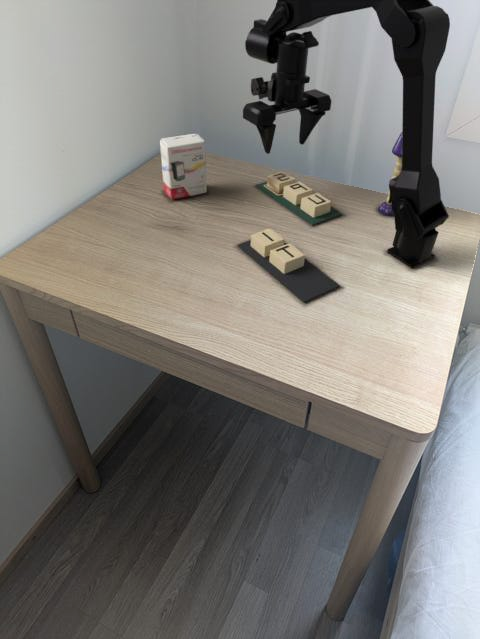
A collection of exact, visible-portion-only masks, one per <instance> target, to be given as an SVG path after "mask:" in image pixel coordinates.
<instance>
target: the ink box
mask: <svg viewBox="0 0 480 639" xmlns="http://www.w3.org/2000/svg"><path fill="white" fill-rule="evenodd" d="M159 146H160V147H159V148H160V159H161V160H160V161H161V172H162V173H161V174H162V185H163V192H164V194H165V195H166V196H167V197H168V198H170V200H177V199H183V198H188V197H192V196H196V195H197V196H198V195H201V194H206V193H207V192H208V191H207V163H206V141H205V140H204V138H203V137H202V136H201V135H199V134H198V133H189V134H182V135H177V136H168V137H161V139H160V140H159Z"/></svg>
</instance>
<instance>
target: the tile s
mask: <svg viewBox="0 0 480 639" xmlns="http://www.w3.org/2000/svg"><path fill="white" fill-rule="evenodd" d="M266 182H267V186H268V187H269V188H270V189H272V190H273V191H275V192H276V193H278V194H280V193H283V191H284V186H287V185H291V184H294V183H296V178H295V177H294V176H292V175H290V174H288V173H287V172H285V171H279V172H276V173H272V174H269V175H267V177H266Z"/></svg>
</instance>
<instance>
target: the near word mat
mask: <svg viewBox="0 0 480 639" xmlns="http://www.w3.org/2000/svg"><path fill="white" fill-rule="evenodd" d="M237 247H238V248H239V249H240V250H241V251H243V252H244V253H245V254H246V255H247V256H249V257H250V258H251V259H252V260H253V261H254V262H255V263H257V264H258V265H259V266H260V267H261V268H262V269H264V270H265V271H266V272H267V273H268V274H270V276H272V277H273V278H274V279H275V280H276V281H278V282H279V283H280V284H281V286H283V287H284V288H286V289H287V290H288V291H289V292H290V293H291V294H293V295H294V297H296V298H297V299H298V300H299V301H301V302H302V303H303V304H307V303H308V302H310V301H312V300H314V299H315V300H316V299H317V298H319V297H321V296H323V295H325V294H328V293H330V292H333V291H335V290H337V289H339V288H340V287H341V285H340V284H339V283H338V282H336V281H335V280H333V279H332V278H331V277H329V276H328V275H327V274H326V273H324V271H322V270H321V269H319V268H318V267H317V266H315V265H314V264H313V263H312V262H310V261H309V260H308V259H306V254H305V253H304V252H302V251H301V250H299V249H298V248H297V247H296V246H294V245H293V244H292V243H286V242H285V238H284V237H282V236H281V235H280V234H279V233H277V232H276V231H275V230H273V228H267V229H264V230H261V231H258V232H255V233H253V234H252V233H251V234H250V240H247V241H244V242H241V243H239V244H237Z"/></svg>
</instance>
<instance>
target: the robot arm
mask: <svg viewBox="0 0 480 639" xmlns="http://www.w3.org/2000/svg"><path fill="white" fill-rule="evenodd" d="M369 8H370V9H371V8H372V9H373V11H374V12H375V13H376V16H377V19H378V22H379V24H380V27H381V28H382V30H384V32H385V34H387V35H388V37H390V39H391V45H392V52H393V60H394V62H395V64H396V66H397V69H398V71H399V72H400V74H401V77H402V124H401V125H402V129H401V130H402V131H401V132H402V169H401V172H400V174H399V176H397V177H395V178H393V179H392V178H391V179H389V182H388V189H389V190H390V198H389V201H388V203H391V202H392V203H391V207H392V211H393V214H394V215H393V217H394V229H395V233H394V237H393V241H392V246H391V247H389V248H388V249H387V250H386V253H387V254H389V255H390V256H392V257H393V258H394V259H396V260H398V261H399V262H401V263H403V264H404V265H405V266H407V267H409V268H410V269H415V268H417V267H419V266H421V265H424V264H426V263H428V262H430V261H433V260H434V259H435V258H436V255H435V254H434V253H433V250H434V247H435V245H436V241H437V238H438V235H439V230H436V229H437V228H438V227H440V226H443V225H444V224H445V222H446V221H447V220H448V219H449V217H450V216H449V212H448V211H447V209H446V206H445V204H444V203H443V201H442V194H441V185H440V178H439V176H438V175H437V172H436V170H435V169H434V166H433V149H434V148H433V146H434V145H433V144H434V124H435V101H436V100H435V98H436V76H437V71H438V68H439V66H440V63H441V61H442V59H443V56H444V54H445V52H446V48H447V45H448V44H447V43H448V38H449V32H450V28H451V22H450V17H449V13H447V12H446V11H445V10H444V9H443V8H442V7H440V6H438V5H434V4H433V3H432V2H431V0H276V3H275V7H274V9H273V10H272V12H271V14H270V16H269V17H268V19H267V20H266V19H263V18H260V19H255V20H253V27H252V28H251V29H250V31H249V32H248V34H247V36H246V39H245V42H244V46H245V47H244V48H245V52H246V54H247V56H249V57H250V58H252V59H256V60H258V61H262V62H265V63H268V64H270V65H274V64H276V69H275V70H276V71H275V72H272V73H271V75H270V80H265V79H264V78H263V77H262V76H260V77H259V76H258V77H255V78H251V80H250V92H251V95H252V96H253V97H255V96H257V97H258V101H253V102H249V103H248V102H247V103H245V105H244V106H243V108H242V119H244V120H246V121H247V122H249V123H251V124H252V125H254V126H255V127H256V129H257V131H258V134H259V135H260V140H261V143H262V146H263V150H264V153H265V154H266V155H269V154H271V150H272V147H273V142H274V137H275V134H276V133H275V132H276V128H277V124H275V123H274V122H275V121H276V119H277V115H281V114H286V113H290V112H294V111H298V112H299V115H300V123H299V132H298V133H299V134H298V137H299V138H298V143H299V144H300V145H305V143H306V141H307V140H308V138H309V137H310V135H311V133H312V132H313V130H314V129H315V127H316V126H317V124H318V123H319V121H320V120H321V119H322V118H323V117H324V116H326V113H327V112H329V111H331V108H332V99H331V96H330V95H329V94H328V93H325V92H323V91H321V90H319V89H316V88H314V89H310V90H305V87H306V84H309V83H310V80H311V76H308V75H307V67H308V59H309V58H308V57H309V49H311V48H315V47H318V46H320V45H319V44H320V42H319V41H318V39H317V38H316V37H315V36H314V34H313V31H312V30H309V31H304V32H302V33H299V32H295V31H297V30H301V29H306V28H310V27H313V26H315V25H317V24H319V23H321V22H323V21H324V20H326V19H328V18H329V17H332V16H336V15H341V14H346V13H350V12H351V13H352V12H354V11H361V10H365V9H369ZM292 31H293V32H292ZM287 32H290V33H288V34H287ZM264 98H265V99H266V98H267V101H269V102H270V103H272V102H273V104H268V103H266V102H263V101H261V100H264ZM389 190H388V191H389Z"/></svg>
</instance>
